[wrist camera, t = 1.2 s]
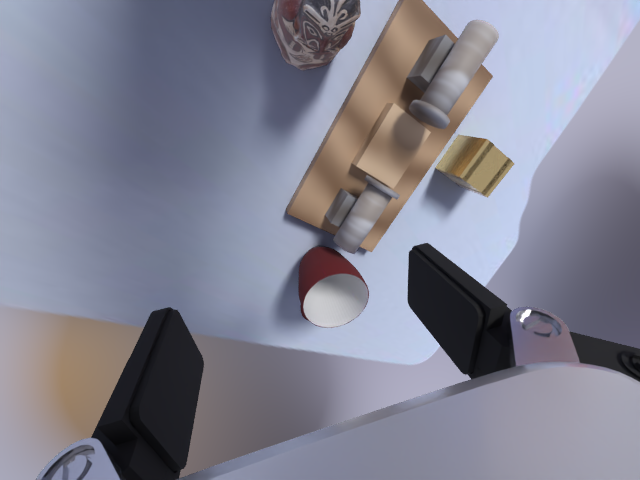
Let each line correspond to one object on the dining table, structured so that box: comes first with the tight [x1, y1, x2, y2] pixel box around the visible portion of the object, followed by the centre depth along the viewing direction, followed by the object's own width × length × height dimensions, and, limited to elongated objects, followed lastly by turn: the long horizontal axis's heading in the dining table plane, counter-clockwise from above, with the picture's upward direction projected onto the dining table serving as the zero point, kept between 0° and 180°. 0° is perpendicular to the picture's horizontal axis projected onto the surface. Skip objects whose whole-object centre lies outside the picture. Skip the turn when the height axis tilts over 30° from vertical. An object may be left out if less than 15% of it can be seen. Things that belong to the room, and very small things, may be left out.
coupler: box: [436, 135, 514, 197], centre depth 36 cm, size 6×5×5 cm
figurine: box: [271, 0, 361, 71], centre depth 22 cm, size 7×7×12 cm
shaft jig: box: [286, 0, 499, 254], centre depth 30 cm, size 26×14×8 cm, turn 149°
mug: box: [299, 247, 369, 328], centre depth 36 cm, size 10×8×10 cm
